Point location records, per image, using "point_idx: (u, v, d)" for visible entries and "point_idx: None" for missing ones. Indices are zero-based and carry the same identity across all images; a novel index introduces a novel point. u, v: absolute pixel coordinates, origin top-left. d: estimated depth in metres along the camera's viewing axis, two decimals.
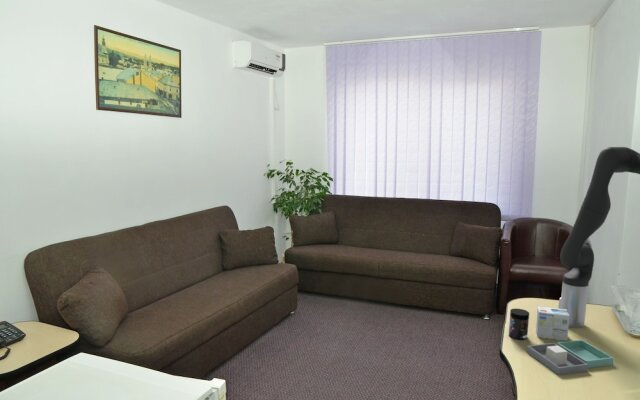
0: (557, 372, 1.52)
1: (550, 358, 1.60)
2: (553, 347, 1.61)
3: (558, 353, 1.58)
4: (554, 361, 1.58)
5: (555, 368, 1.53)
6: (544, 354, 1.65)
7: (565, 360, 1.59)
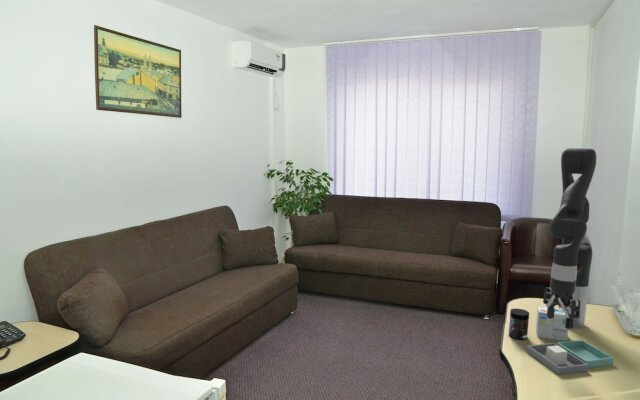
0: (557, 372, 1.52)
1: (550, 358, 1.60)
2: (553, 347, 1.61)
3: (558, 353, 1.58)
4: (554, 361, 1.58)
5: (555, 368, 1.53)
6: (544, 354, 1.65)
7: (565, 360, 1.59)
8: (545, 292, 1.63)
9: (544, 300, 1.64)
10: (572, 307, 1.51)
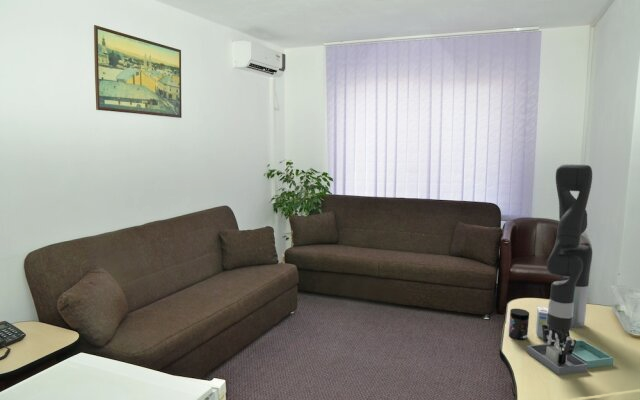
0: (557, 372, 1.52)
1: (550, 358, 1.60)
2: (553, 347, 1.61)
3: (558, 353, 1.58)
4: (554, 361, 1.58)
5: (555, 368, 1.53)
6: (544, 354, 1.65)
7: None
8: (543, 329, 1.65)
9: (544, 338, 1.64)
10: (567, 346, 1.53)
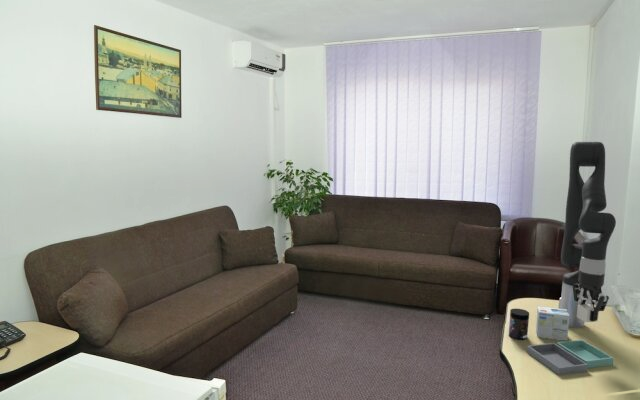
0: (557, 372, 1.52)
1: (581, 316, 1.61)
2: (584, 305, 1.62)
3: (590, 310, 1.59)
4: (586, 318, 1.60)
5: (555, 368, 1.53)
6: (544, 354, 1.65)
7: None
8: (574, 289, 1.66)
9: (575, 297, 1.66)
10: (599, 302, 1.55)
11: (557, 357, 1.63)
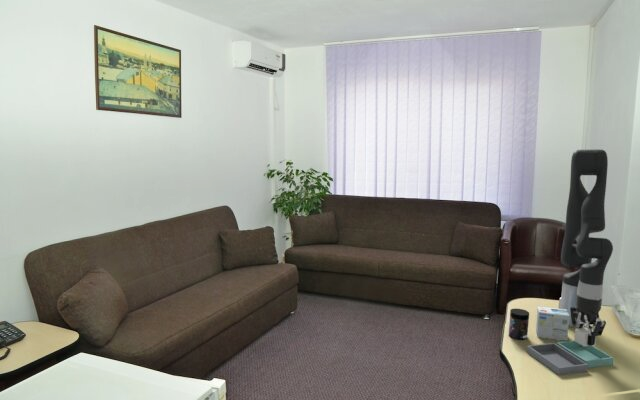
0: (557, 372, 1.52)
1: (579, 340, 1.63)
2: (581, 329, 1.64)
3: (587, 335, 1.60)
4: (583, 342, 1.61)
5: (555, 368, 1.53)
6: (544, 354, 1.65)
7: None
8: (571, 312, 1.67)
9: (573, 321, 1.67)
10: (597, 327, 1.56)
11: (557, 357, 1.63)
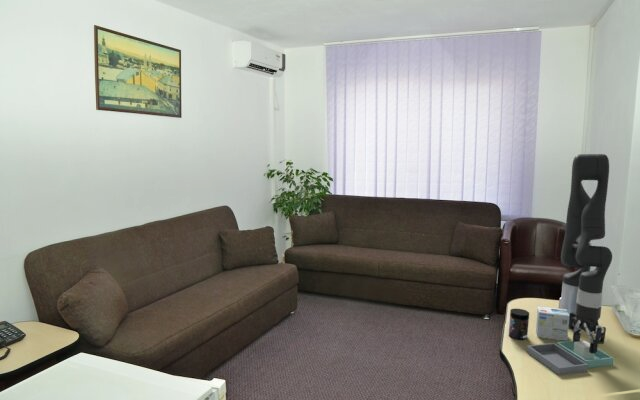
0: (557, 372, 1.52)
1: (578, 353, 1.64)
2: (580, 343, 1.65)
3: (586, 348, 1.61)
4: (582, 356, 1.62)
5: (555, 368, 1.53)
6: (544, 354, 1.65)
7: (593, 355, 1.62)
8: (570, 317, 1.68)
9: (570, 325, 1.68)
10: (598, 333, 1.56)
11: (557, 357, 1.63)
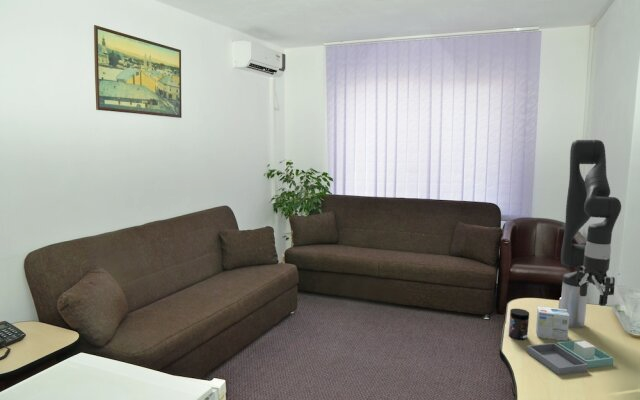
0: (557, 372, 1.52)
1: (578, 353, 1.64)
2: (580, 343, 1.65)
3: (586, 348, 1.61)
4: (582, 356, 1.62)
5: (555, 368, 1.53)
6: (544, 354, 1.65)
7: (593, 355, 1.62)
8: (578, 270, 1.66)
9: (577, 278, 1.66)
10: (607, 284, 1.54)
11: (557, 357, 1.63)
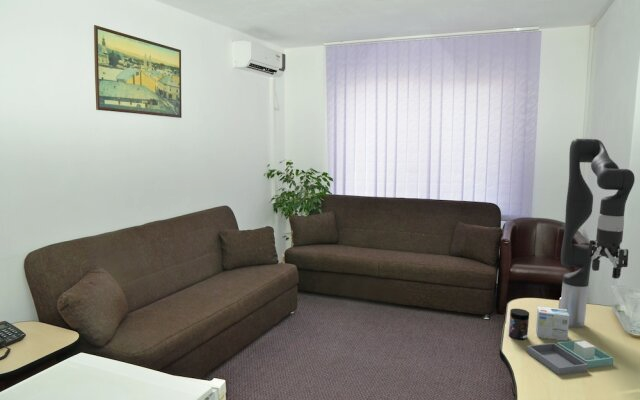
0: (557, 372, 1.52)
1: (578, 353, 1.64)
2: (580, 343, 1.65)
3: (586, 348, 1.61)
4: (582, 356, 1.62)
5: (555, 368, 1.53)
6: (544, 354, 1.65)
7: (593, 355, 1.62)
8: (590, 245, 1.65)
9: (589, 253, 1.66)
10: (620, 256, 1.53)
11: (557, 357, 1.63)
